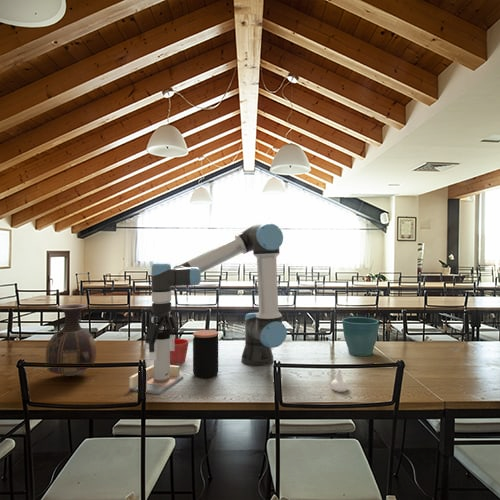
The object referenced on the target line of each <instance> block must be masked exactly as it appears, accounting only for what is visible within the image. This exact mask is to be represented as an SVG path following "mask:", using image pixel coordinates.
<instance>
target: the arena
mask: <svg viewBox="0 0 500 500" xmlns="http://www.w3.org/2000/svg"><path fill="white" fill-rule="evenodd" d="M180 367H181V366H180V365H175V364H172V365H171V364H170V379H169V380H168V381H166V382H155V381H154V364H152V365H150V366H148V367H146V368H145V369H146V371H147V394H154V395H161V394H163V393H164V392H165V391H167V390H169V389H170V388H172V387H173V386H174V385H175V384H177V383H179V382H180V381H182V380H183V379H184V375H181V373H180V371H181V370H180ZM137 389H138V372H137V373H135V374H132V375H131V376H129V391H131V390H134V391H133V392H138V391H137Z"/></svg>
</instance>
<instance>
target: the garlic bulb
mask: <svg viewBox="0 0 500 500" xmlns="http://www.w3.org/2000/svg"><path fill="white" fill-rule="evenodd" d="M336 375H337V376H336V378H334V379H333V380H332V381H331V384H330V387H331V389H332V390H333V391H335V392H337V393H344V392H346V391H347V390H349V389H348V388H349V385H348V382H347V381H346V380H345V379H343V376H342V375H343V374H342V369H341V368H337V373H336Z"/></svg>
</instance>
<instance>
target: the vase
mask: <svg viewBox="0 0 500 500" xmlns="http://www.w3.org/2000/svg"><path fill="white" fill-rule="evenodd" d="M86 308H88V304H85V303H69V304H62V305H57V306H56V309H58V310H61V311H62V312H64V314H63V315H64V325H63V327H62V329H59V330H58V331H56V332H55V333H54V334H53V335H52V337H51V338H50V340H49V341H48V343H47V345H46V349H45V355H44V360H45V364H46V363H77V364H85V363H94V364H95V362H96V360H97V345H96V342H95V339H94V337H93V335H92V334H91V332H90V331H88V330H87V329H86V328H83V327H81V324H80V314H81V311H83V310H84V309H86ZM46 369H47V370H48V371H49V372H50V373H52V374H57V375H62V376H67V377H69V376H73V377H74V376H77V375H83V374H84V372H85V371H86V370H87V369H89V368H47V367H46Z"/></svg>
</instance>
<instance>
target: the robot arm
mask: <svg viewBox="0 0 500 500" xmlns="http://www.w3.org/2000/svg"><path fill="white" fill-rule="evenodd" d="M283 243H284V235H283V231H282V229H281V228H280V227H279V226H278V225H277V224H273V223H270V222H268V223H267V222H265V223H260V224H259V223H258V224H254V225H252V226H250V227H248V228H247V229H245V230H243V231H242V232H240V233H238V234H235V236H234V238H232V239H231V240H228V241H226V242H224V243H222V244H220V245H218V246H216V247H214V248H212V249H210V250H208V251H206V252H203V253H201V254H200V255H198V256H196V257H193V258H192V259H189V260H188V261H185V262H183V263H182V264H179V265H175V266H173V267H172V265H171V263H168V262H166V263H165V262H163V263H162V262H161V263H160V262H159V263H157V262H156V263H153V264H152V265H151V271H150V273H151V274H150V276H151V277H150V278H151V280H150V281H151V302H152V303H151V312H152V313H154V316H150V317H149V324H148V327H147V332H146V336H145V339H144V340H145V341H144V343H145V344H148V351H149V356H148V357H149V361H154V360H155V361H156V360H157V345H156V343H155V341H156V339H157V336H158V333H159V330H161V328H162V327H164V329H171V331H170V351H175V343H174V339H175V336H176V335H177V334H178V327H177V323H176V320H175V317H174V311H172V302H171V301H172V287H188V286H190V287H193V286H198V285H200V283H201V280H202V273H205V272H206V271H209V270H211V269H212V268H215V267H217V266H218V265H221V264H222V263H224V262H226V261H228V260H230V259H233V258H234V257H236V256H239V255H240V254H243V255H244V254H247V253H249V252H252V251H253V252H252V253H253V256H254V257H256V265H257V267H256V268H257V290H258V291H257V294H258V312H249V313H246V314H245V315H244V316H245V317H244V318H245V320H244V328H245V329H244V333H245V337H244V338H245V339H244V340H245V341H244V342H245V343H244V348H243V352H242V355H241V362H242V363H243V364H245V365H250V366H267V365H271V364H273V362H274V353H273V352H272V348H273V349H274V348H278V347H280V346H281V345H282V344H283V343H284V342H285V341H286V339H287V336H288V335H287V334H288V330H287V327H286V326H285V324H284V323H283V314H281V312H280V311H279V298H278V297H279V296H278V295H279V294H278V270H277V267H278V266H277V257H278V256H279V255H280V254H281V253H280V247H281V246H282V244H283Z"/></svg>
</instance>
